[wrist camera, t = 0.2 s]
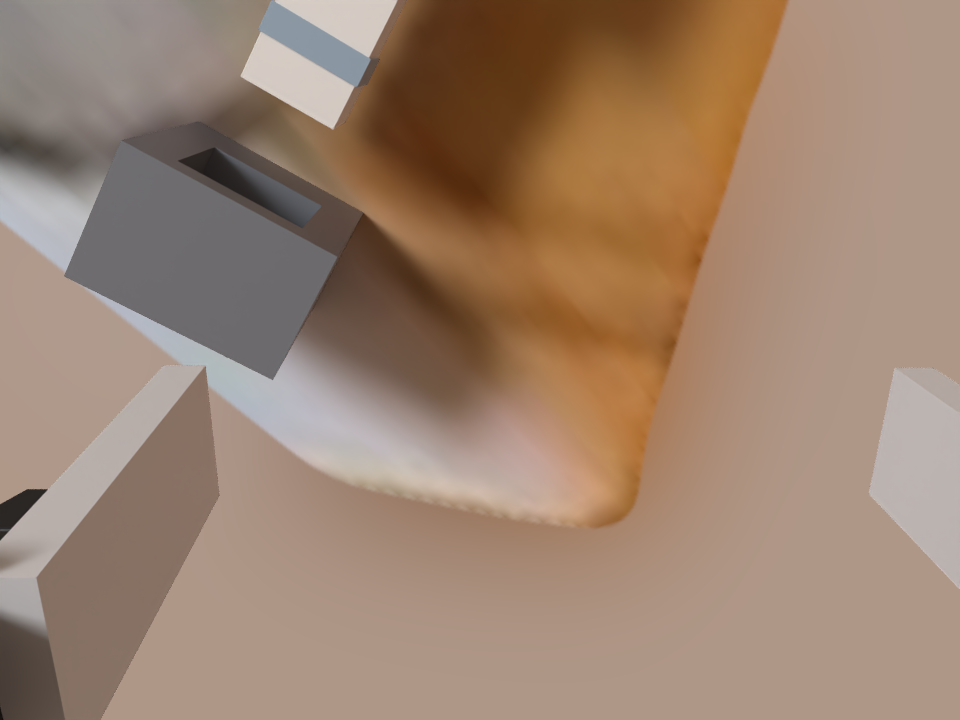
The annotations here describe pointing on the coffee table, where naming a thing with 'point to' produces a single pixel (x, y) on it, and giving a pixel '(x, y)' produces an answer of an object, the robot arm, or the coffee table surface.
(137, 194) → the socket fitting
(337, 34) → the tube
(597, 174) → the coffee table surface
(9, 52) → the coffee table surface
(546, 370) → the coffee table surface
